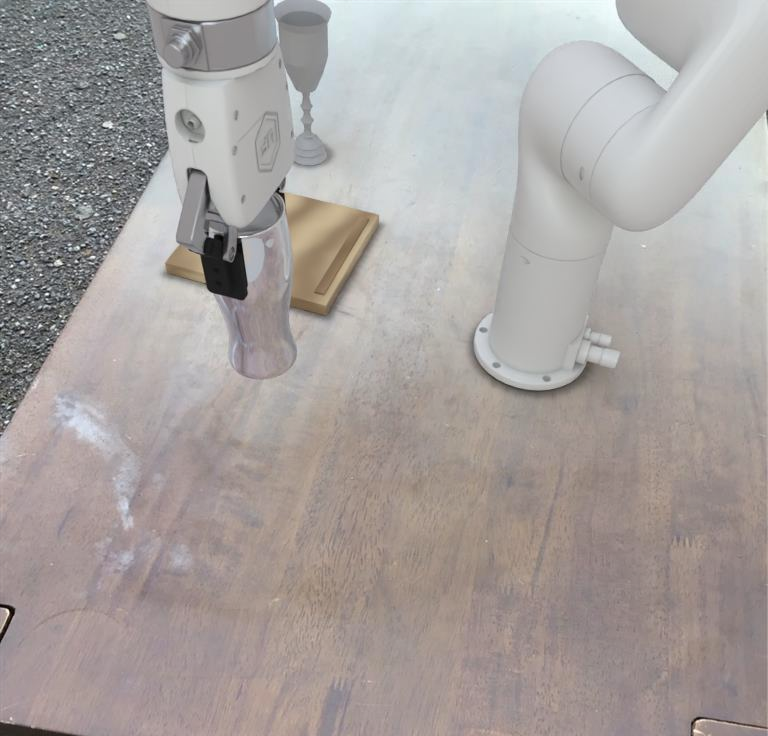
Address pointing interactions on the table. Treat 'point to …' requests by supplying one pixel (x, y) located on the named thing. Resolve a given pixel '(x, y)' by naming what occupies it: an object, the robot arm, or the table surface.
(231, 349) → the beer glass
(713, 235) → the table surface
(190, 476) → the table surface
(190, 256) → the serving board
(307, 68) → the chalice
